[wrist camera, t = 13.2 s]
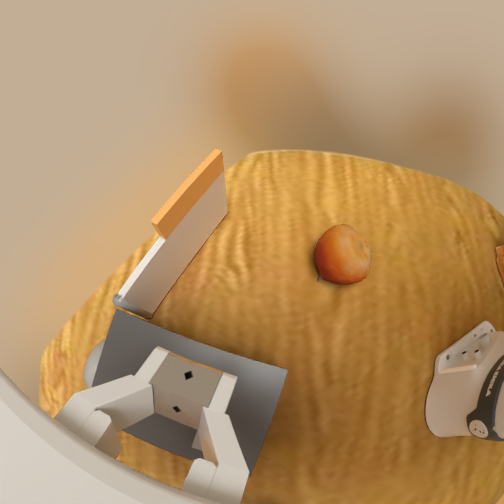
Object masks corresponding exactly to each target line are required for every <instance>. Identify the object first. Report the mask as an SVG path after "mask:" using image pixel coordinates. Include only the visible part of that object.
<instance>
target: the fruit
mask: <svg viewBox="0 0 504 504" xmlns="http://www.w3.org/2000/svg"><path fill="white" fill-rule="evenodd" d="M371 260H372V259H371V254H370V250H369V247H368V245H367V243H366V241H365V240H364V239H363V238H362V236H361V235H360V234H359V233H357V232H356V231H355V230H354V229H353V228H352V227H351V226H349V225H346V224H341V225H335V226H333V227H332V228H330V229H329V230H327V231H326V232H325V233H324V234H323V236H322V237H321V238H320V239H319V241H318V243H317V245H316V248H315V253H314V261H315V263H316V265H317V268H318V271H319V275H320V278H319V279H318V280H317V281H319V280H321V279H322V278H324V279H326V280H328V281H330V282H333V283H338V284H352V283H357V282H360V281H362V280H363V279H365V278H366V276H367V274H368V273H369V269H370V265H371Z"/></svg>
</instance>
